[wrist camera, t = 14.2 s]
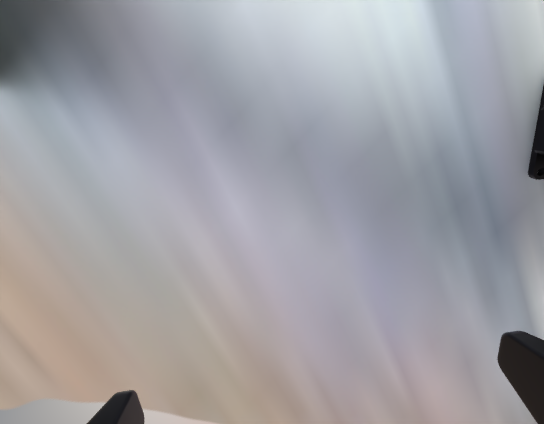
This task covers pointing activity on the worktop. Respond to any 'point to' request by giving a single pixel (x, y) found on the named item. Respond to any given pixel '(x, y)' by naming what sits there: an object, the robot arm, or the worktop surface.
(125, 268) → the worktop surface
